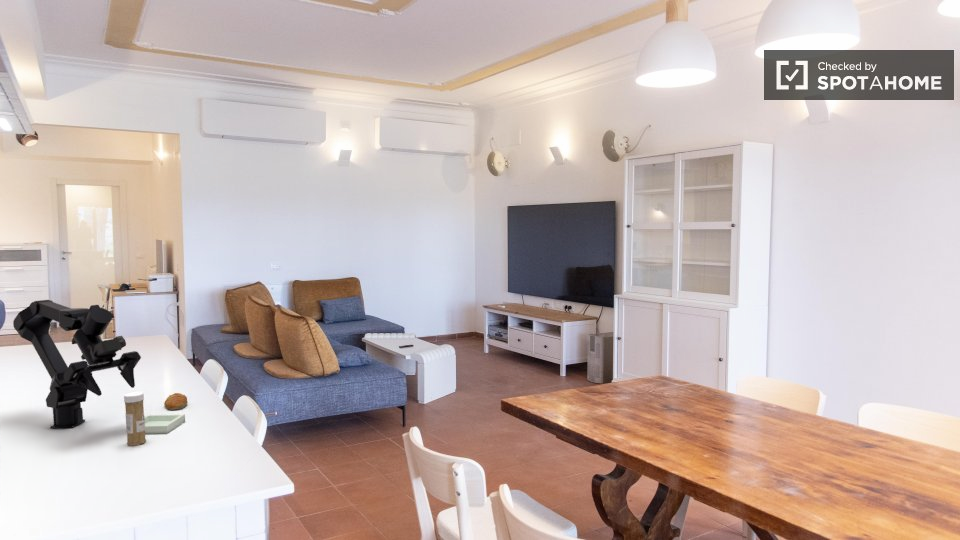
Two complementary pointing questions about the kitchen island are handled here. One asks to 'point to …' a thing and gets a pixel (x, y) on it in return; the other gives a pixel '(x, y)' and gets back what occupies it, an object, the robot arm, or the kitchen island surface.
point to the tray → (162, 423)
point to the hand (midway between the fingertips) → (117, 390)
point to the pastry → (175, 401)
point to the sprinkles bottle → (135, 418)
